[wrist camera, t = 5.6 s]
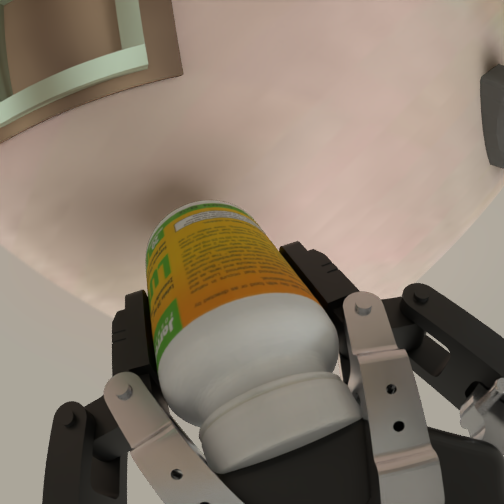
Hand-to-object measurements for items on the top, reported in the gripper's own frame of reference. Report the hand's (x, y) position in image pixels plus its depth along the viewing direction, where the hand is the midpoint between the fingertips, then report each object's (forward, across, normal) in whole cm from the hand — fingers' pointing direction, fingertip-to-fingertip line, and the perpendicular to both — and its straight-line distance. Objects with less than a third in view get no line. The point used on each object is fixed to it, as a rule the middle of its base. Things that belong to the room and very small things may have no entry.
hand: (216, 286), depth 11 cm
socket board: (+8, +5, -18) cm, 20 cm away
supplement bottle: (+3, 0, 0) cm, 3 cm away
